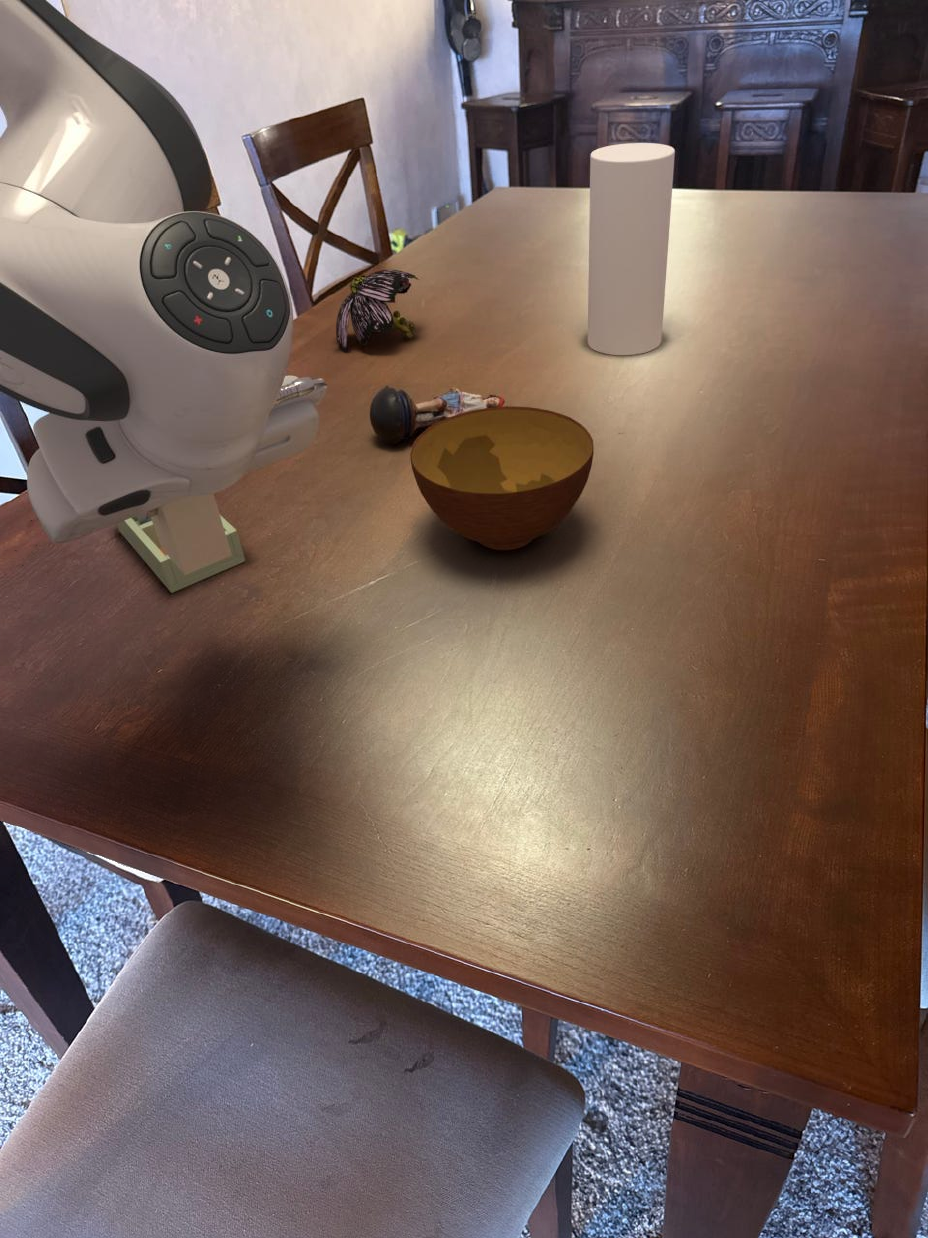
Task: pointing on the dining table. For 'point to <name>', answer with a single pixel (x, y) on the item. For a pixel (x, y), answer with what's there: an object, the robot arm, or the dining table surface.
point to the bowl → (503, 472)
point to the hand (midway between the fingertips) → (176, 497)
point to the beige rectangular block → (192, 532)
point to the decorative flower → (373, 306)
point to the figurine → (420, 411)
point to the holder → (160, 562)
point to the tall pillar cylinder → (628, 246)
